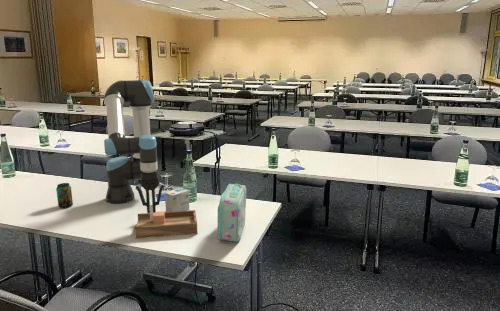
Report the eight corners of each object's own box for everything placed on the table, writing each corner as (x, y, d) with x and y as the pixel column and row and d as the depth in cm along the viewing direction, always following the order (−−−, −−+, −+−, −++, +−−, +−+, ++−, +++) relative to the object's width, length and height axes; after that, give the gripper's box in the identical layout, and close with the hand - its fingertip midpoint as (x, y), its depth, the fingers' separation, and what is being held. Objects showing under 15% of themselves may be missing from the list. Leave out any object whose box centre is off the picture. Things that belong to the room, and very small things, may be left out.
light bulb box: (182, 206, 212) (181, 187, 209) (189, 209, 207) (189, 190, 204) (165, 211, 205) (164, 191, 202) (172, 215, 200) (171, 195, 197)
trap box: (138, 223, 190) (137, 213, 189) (195, 219, 195) (195, 210, 194) (135, 238, 175) (134, 227, 174) (197, 233, 180) (197, 223, 178)
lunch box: (226, 219, 195) (225, 178, 190) (246, 220, 194) (247, 178, 189) (215, 245, 170) (215, 197, 164) (239, 246, 169) (240, 198, 163)
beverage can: (67, 209, 207) (64, 187, 204) (55, 208, 208) (52, 186, 205) (75, 204, 213) (73, 183, 210) (64, 203, 215) (61, 182, 212)
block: (153, 219, 188) (153, 211, 187) (164, 219, 189) (164, 211, 188) (153, 224, 184) (152, 216, 183) (164, 223, 184) (164, 215, 183)
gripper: (133, 173, 175) (136, 223, 181) (163, 172, 177) (166, 221, 183) (135, 168, 182) (138, 216, 188) (164, 167, 184) (166, 215, 190)
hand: (151, 219), depth 185 cm, fingers closed
